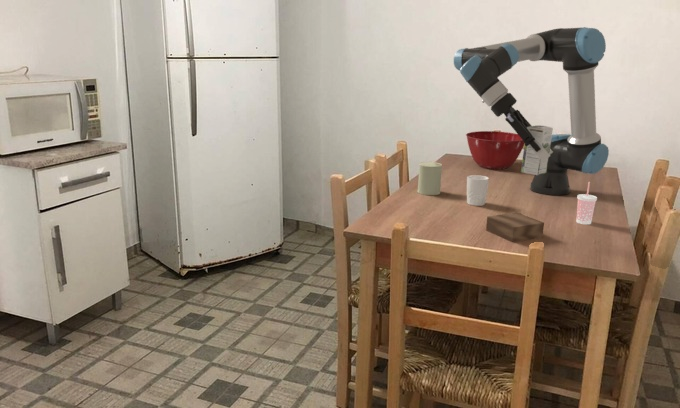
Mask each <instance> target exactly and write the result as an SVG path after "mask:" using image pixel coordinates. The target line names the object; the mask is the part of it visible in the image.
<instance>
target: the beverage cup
mask: <svg viewBox="0 0 680 408" xmlns="http://www.w3.org/2000/svg"><path fill="white" fill-rule="evenodd" d="M590 184H591V181H588V183H587V190H586V193H585V194H584V193H583V194H582V193H581V194H579V193H578V194H577V197H576V199H577V206H576V220H575V222H576V223H577V224H581V225H592V220H593V216H594V211H595V206H596V201H597V200H598V197H597V196H596V195H592V194H589V191H590Z"/></svg>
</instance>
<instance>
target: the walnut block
mask: <svg viewBox="0 0 680 408" xmlns="http://www.w3.org/2000/svg"><path fill="white" fill-rule="evenodd" d="M544 225H545V222H543V221H540V220H538V219H535V218H533V217H530V216H528V215H525V214H522V213H519V212H510V213H503V214H496V215H495V214H494V215H489V216H487V217H486V228H485V231H486V232H489V233H491V234H493V235H494V236H497V237H500V238H502V239H504V240H505V241H509V242H511V243H517V242H522V241H527V240H533V239H539V237H540V238H543V235H544V227H545V226H544Z"/></svg>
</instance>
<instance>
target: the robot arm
mask: <svg viewBox="0 0 680 408" xmlns="http://www.w3.org/2000/svg"><path fill="white" fill-rule="evenodd" d="M606 45H607V44H606V39H605V36H604V35H603V33H602V32H601V31H600V30H599V29H597V28H595V27H587V26H586V27H585V26H584V27H569V28H568V27H566V28H564V27H563V28H561V27H560V28H554V29H549V30H545V31H542V32H538V33H533V34H529V35H528V36H527V37H526V38H522V39H521V38H520V39H516V40H510V41H505V42H501V43H495V44H488V45H484V46H478V47H472V48H468V47H464V48H459V49H457V51H456V52H455V53H454V56H453V65H454V68H455V69H456V70H458V71H459V73H460V74H461V76H462V77H463V78H464V80H465V81H466V83H468V85H469V86H470V87H471V88H472V89H473V90H474V91H475V92H476V94H477V95H478V96H479V97H480V98H481V99H482V100H481V102H482V103H483V104H484V103H485V104H486V105H487V107H490V110H491V112H492V113H493V114H494V115H495V117H498V118H499V117H501V116H502V115H503V114H504V117H505V118H504V119H505V121H506V122H507V123H508V124H509V125H510V127H511V128H512V129H513V130H514V131H515V134H518V135H519V136H520V137H521V139H522V140H523V141H524V145H525V146H526V147H527V146H528V145H529V146H530V147H531V149H532V150H533V151H534V152H535V153H536V154H537V156H538V157H539V158H540V159H541V160H542V162H543V161H545V160H546V159H547V158H548V165H547V172H546V173H545V174H541V175H533V179H532V181H531V183H530V186H529V187H530V188H529V189H530V191H532V192H534V193H537V194H542V195H551V196H563V195H568V194H569V193H570V190H571V187H570V182H569V177H568V170H570V171H575V172H579V173H580V172H581V173H583V174H592V175H593V174H597V173H598V172H600V171H601V170H602V169H603V168H604V167H605V165H606V163H607V161H608V159H609V155H610V154H609V152H610V151H609V147H608V146H607V145H606V144H605V143H602V137H601V135H600V134H599V133H597V121H596V120H597V117H596V113H597V111H596V92H595V91H596V89H595V86H596V85H595V70H596V68H598V66H599V62H600V61H601V60H603V58H604V56H605V54H604V53H606V47H607V46H606ZM523 61H524V62H525V61H530V62H539V61H545V62H555V63H556V62H559V63H562V69H563V71H564V72H566V73H567V79H568V83H567V84H568V97H569V99H568V100H569V116H570V117H569V118H570V134H569V133H568V134H566V133H564V134H563V133H561V134H560V133H559V134H557V133H556V134H552V138H551V145H550V152H549V153H548V152H547V151H546V150H545V149H544V148H543V146H542V145H541V144H540V143H539V142H538V141H537V139H536V140H535V138H534V137H533V136H532V134H531V133H530V132H529V130H528V129H527V127H529V126H532V124H531V123H530V122H529V120H527V119H526V117H525V116H523V114H522V113H521V111H520V110H518V109H515V108H514V107H513V106H515V105H516V103H517V102H518V100H517V99H516V97H514V95H513V94H512V93H510V92H509V90H508V88H507V87H506V86H505V85H504V83H503V82H502V81H501V80H500V79H499V77H500V76H502V75H504V74H505V73H506V72H507V71H510V70H511V69H512V68H513V67H514V66H515V65H517V63H518V62H523ZM534 140H535V141H534Z"/></svg>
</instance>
